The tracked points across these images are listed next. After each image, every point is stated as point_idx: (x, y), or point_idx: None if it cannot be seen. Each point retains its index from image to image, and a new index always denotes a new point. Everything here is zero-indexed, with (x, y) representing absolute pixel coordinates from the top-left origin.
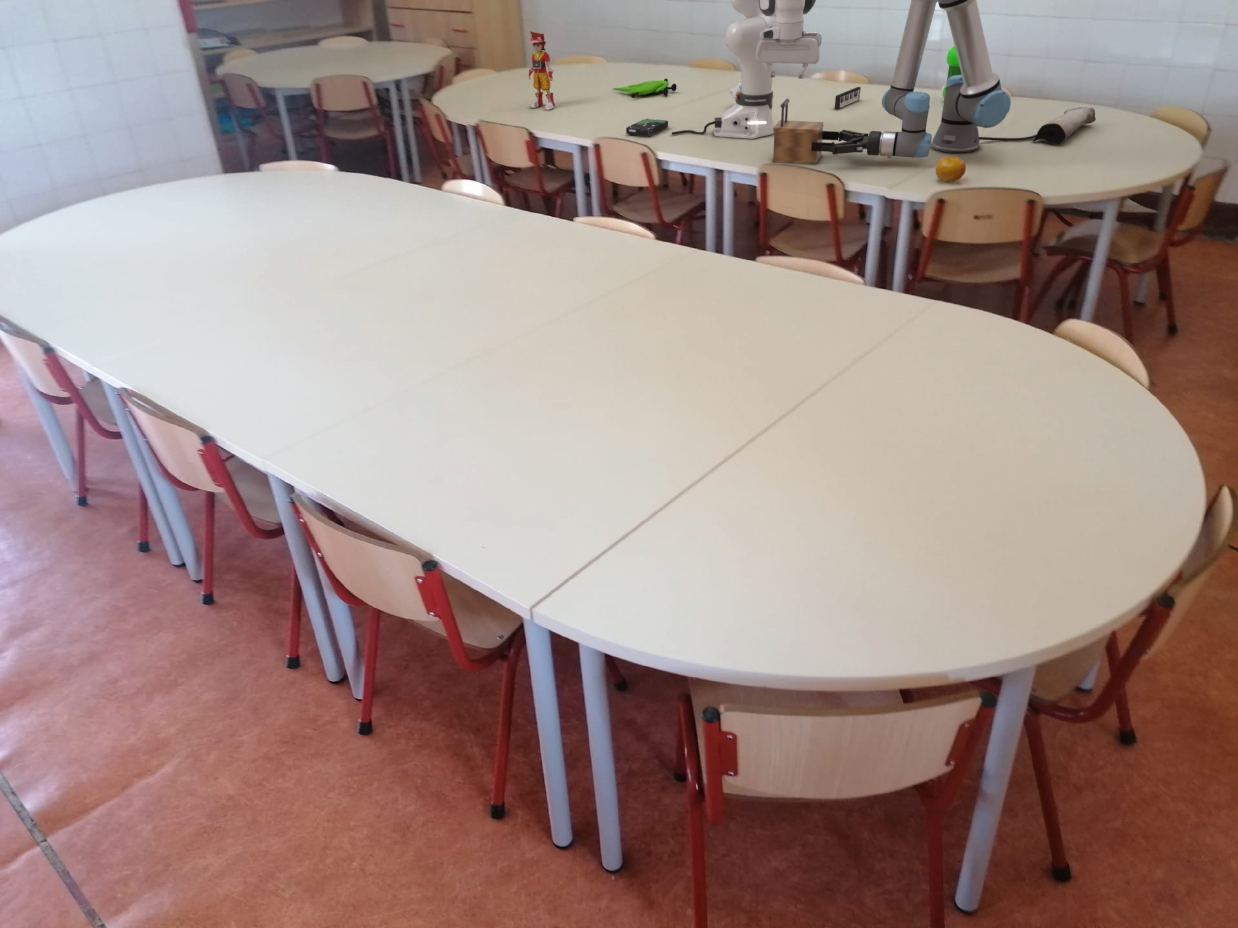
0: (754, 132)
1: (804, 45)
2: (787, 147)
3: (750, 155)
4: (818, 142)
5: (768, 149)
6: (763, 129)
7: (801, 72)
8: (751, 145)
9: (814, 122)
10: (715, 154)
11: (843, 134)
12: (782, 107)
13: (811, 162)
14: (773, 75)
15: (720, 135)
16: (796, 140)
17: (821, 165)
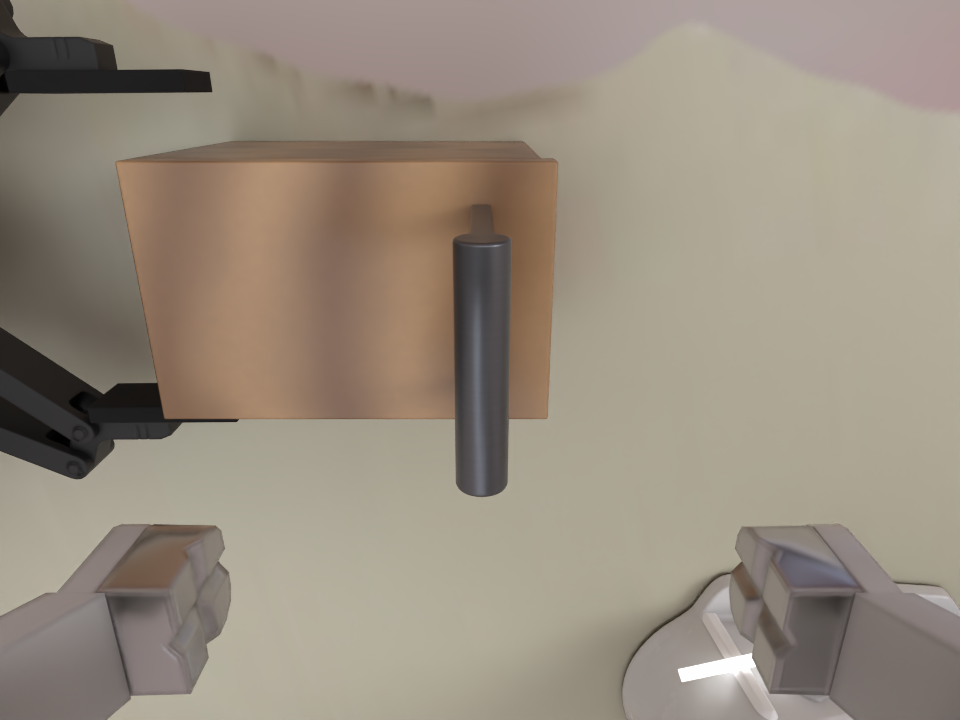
0: (730, 625)
1: None
2: (421, 149)
3: (699, 269)
4: (125, 82)
5: (603, 410)
6: (683, 654)
7: (90, 606)
8: (718, 468)
9: (233, 397)
10: (936, 250)
11: (52, 396)
12: (485, 235)
13: (256, 142)
14: (775, 550)
15: (924, 590)
16: (342, 153)
17: (188, 130)
